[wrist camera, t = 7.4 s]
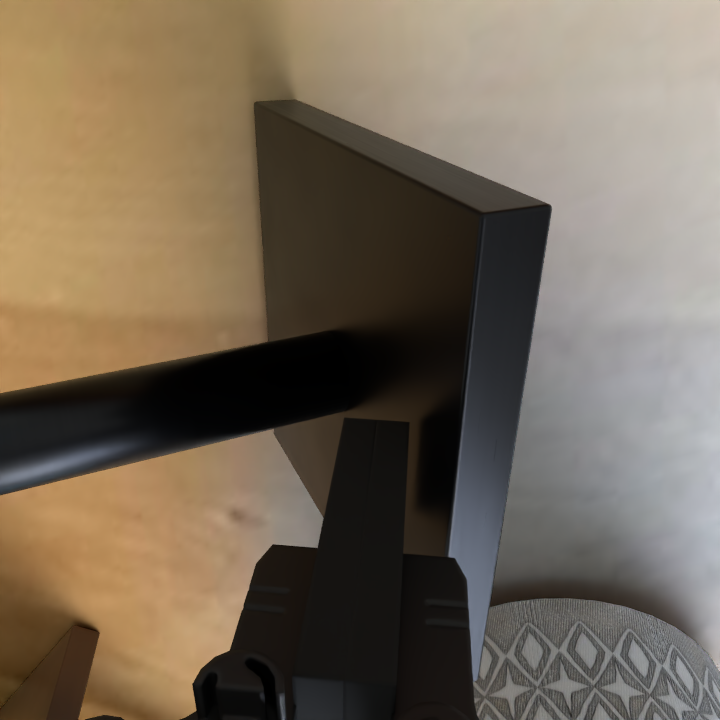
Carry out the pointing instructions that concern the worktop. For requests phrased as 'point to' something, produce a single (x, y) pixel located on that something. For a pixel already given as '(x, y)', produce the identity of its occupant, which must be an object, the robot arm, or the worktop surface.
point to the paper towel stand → (56, 681)
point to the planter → (591, 665)
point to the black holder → (342, 341)
